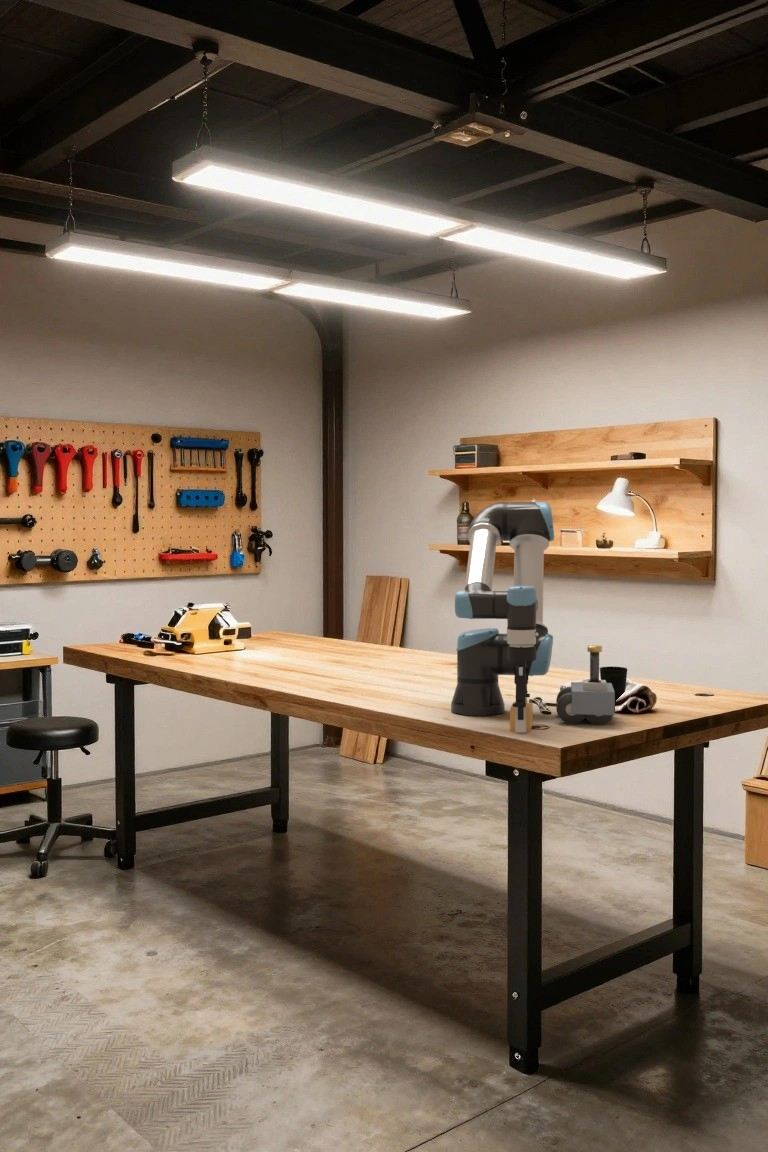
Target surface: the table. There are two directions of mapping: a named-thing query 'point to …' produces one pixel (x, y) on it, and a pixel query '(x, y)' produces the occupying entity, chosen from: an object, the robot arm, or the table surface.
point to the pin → (594, 662)
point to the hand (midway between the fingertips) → (521, 727)
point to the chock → (528, 717)
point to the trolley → (586, 702)
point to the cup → (615, 678)
